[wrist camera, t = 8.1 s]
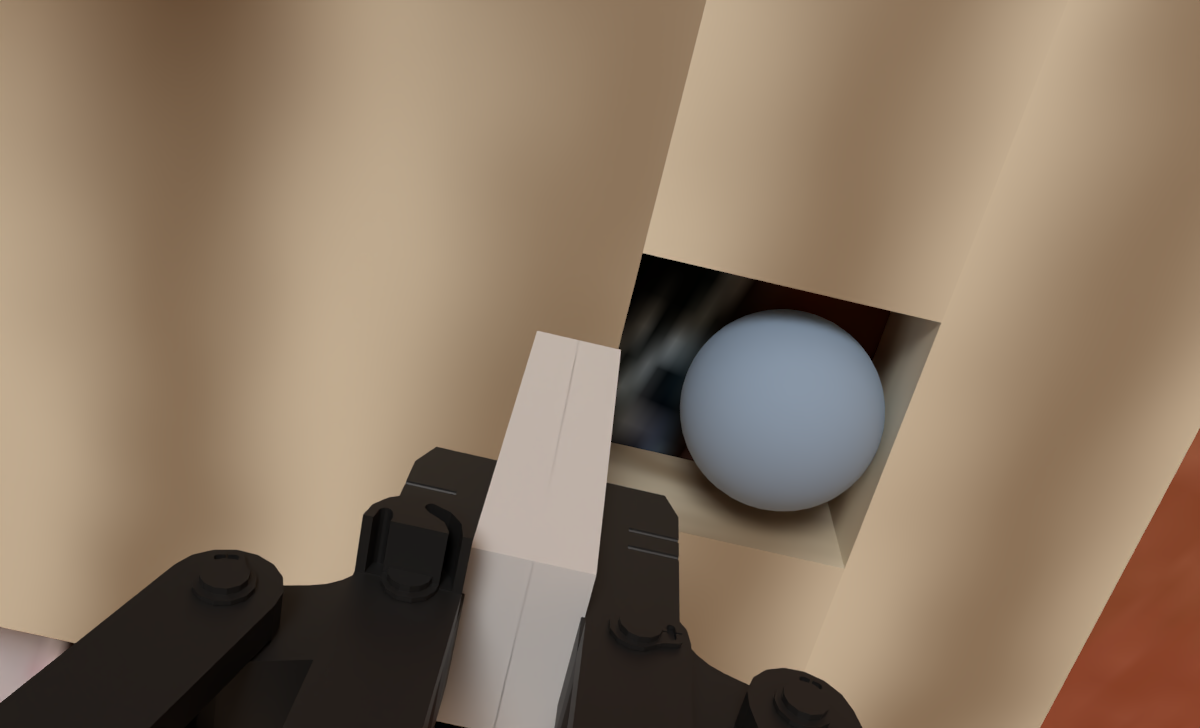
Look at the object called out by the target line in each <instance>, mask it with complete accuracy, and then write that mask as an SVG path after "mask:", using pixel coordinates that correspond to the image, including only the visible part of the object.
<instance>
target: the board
mask: <svg viewBox="0 0 1200 728" xmlns="http://www.w3.org/2000/svg"><path fill="white" fill-rule="evenodd" d="M642 253H645V254H649V255H653V256H657V257H662V258H666V259H670V260H675V261H679V262H683V263H687V264H692V265H696V266H700V267H705V268H709V269H713V270H717V271H722V272H726V273H730V274H735V275H739V276H743V277H747V278H752V279H756V280H760V281H765V282H769V283H773V284H777V285H782V286H786V287H790V288H795V289H799V290H803V291H807V292H812V293H816V294H820V295H825V296H829V297H833V298H837V299H842V300H846V301H850V302H855V303H859V304H863V305H867V306H872V307H876V308H880V309H885V310H889V311H891V312H890V315H889V318H888V320H887V323H886V326H885V328H884V331H883V334H882V337H881V339H880V342H879V345H878V347H877V350H876V353H875V356H874V358H873V361H872V363H873V365H874V367H875V368H876V370H877V372H878V375H879V378H880V381H881V384H882V388H883V393H884V400H885V423H884V429H883V434H882V437H881V441H880V444H879V447H878V450H877V452H876V454H875V456H874V458H873V460H872V461H871V463H870V465H869V466H868V468H867V469H866V471H865V472H864V473H863V474H862V476H861V477H860V478H859V479H858V480H857V481H856V482H855V483H854V484H853V485H852V486H851V487H850V488H848V489H847V490H846V491H844V492H843V493H841V494H840V495H838V496H837V497H835V498H833V499H832V500H830V501H828V502H826V503H823V504H820V505H818V506H815V507H812V508H808V509H802V510H797V511H771V510H764V509H758V508H755V507H752V506H749V505H746V504H744V503H741V502H739V501H737V500H735V499H733V498H731V497H730V496H728V495H727V494H725V493H724V492H723V491H721V490H720V489H718V488H717V487H716V486H715V485H714V484H713V483H711V482H710V481H709V480H708V479H707V477H706V476H705V475H704V474H703V473H702V471H701V470H700V469H699V468H698V466H697V465H696V463H695V461H691V460H687V459H683V458H678V457H674V456H669V455H665V454H660V453H656V452H652V451H647V450H643V449H638V448H634V447H630V446H625V445H621V444H616V443H612V442H611V446H610V455H609V464H608V473H607V482H606V483H611V484H615V485H620V486H624V487H629V488H633V489H638V490H642V491H646V492H651V493H655V494H660V495H664V496H665V497H666V498H667V500H668V501H669V503H670V505H671V506H672V508H673V509H674V511H675V513H676V514H677V516H678V517H679V540H678V543H679V558H678V560H679V605H680V622H681V624H682V625H683V626H684V627H685V628H686V630H687V632H688V635H689V639H690V642H691V649H692V650H693V651H694V652H695V653H696V654H697V655H698V656H699V657H700V658H701V659H703V660H704V661H705V662H706V663H708V664H709V665H710V666H712V667H714V668H716V669H717V670H719V671H721V672H723V673H724V674H727V675H729V676H731V677H733V678H735V679H737V680H739V681H742V682H744V683H746V684H748V685H750V683H751V681H752V679H753V677H754V676H756V675H758V674H760V673H761V672H763V671H765V670H767V669H776V668H788V669H793V670H799V671H804V672H806V673H808V674H811V675H813V676H815V677H817V678H819V679H821V680H824V681H825V682H827V683H828V684H829V685H830V686H832V687H833V688H834V689H836V690H837V691H838V692H839V693H841V694H842V695H843V697H844V698H845V699H846V701H847V702H848V703H849V705H850V706H851V707H852V709H853V710H854V712H855V714H856V716H857V718H858V720H859V722H860V724H861V726H862V728H1040V727H1041V725H1042V723H1043V721H1044V719H1045V717H1046V715H1047V713H1048V712H1049V710H1050V708H1051V706H1052V704H1053V702H1054V700H1055V698H1056V697H1057V695H1058V693H1059V691H1060V689H1061V687H1062V685H1063V683H1064V682H1065V680H1066V678H1067V676H1068V674H1069V672H1070V670H1071V668H1072V667H1073V665H1074V663H1075V661H1076V659H1077V657H1078V655H1079V653H1080V652H1081V650H1082V648H1083V646H1084V644H1085V642H1086V640H1087V638H1088V637H1089V635H1090V633H1091V631H1092V629H1093V627H1094V625H1095V623H1096V622H1097V620H1098V618H1099V616H1100V614H1101V612H1102V610H1103V608H1104V606H1105V605H1106V603H1107V601H1108V599H1109V597H1110V595H1111V593H1112V591H1113V590H1114V588H1115V586H1116V584H1117V582H1118V580H1119V578H1120V576H1121V575H1122V573H1123V571H1124V569H1125V567H1126V565H1127V563H1128V561H1129V560H1130V558H1131V556H1132V554H1133V552H1134V550H1135V548H1136V546H1137V545H1138V543H1139V541H1140V539H1141V537H1142V535H1143V533H1144V531H1145V530H1146V528H1147V526H1148V524H1149V522H1150V520H1151V518H1152V516H1153V515H1154V513H1155V511H1156V509H1157V507H1158V505H1159V503H1160V501H1161V500H1162V498H1163V496H1164V494H1165V492H1166V490H1167V488H1168V486H1169V485H1170V483H1171V481H1172V479H1173V477H1174V475H1175V473H1176V471H1177V470H1178V468H1179V466H1180V464H1181V462H1182V460H1183V458H1184V456H1185V455H1186V453H1187V451H1188V449H1189V447H1190V445H1191V443H1192V441H1193V439H1194V438H1195V436H1196V434H1197V432H1198V430H1199V428H1200V0H0V627H3V628H7V629H12V630H17V631H21V632H26V633H31V634H35V635H40V636H45V637H49V638H54V639H58V640H63V641H68V642H72V643H76V642H77V641H79V640H80V639H81V638H83V637H84V636H85V635H86V634H88V633H89V632H90V631H91V630H93V629H94V628H95V627H96V626H98V625H99V624H100V623H101V622H103V621H104V620H105V619H106V618H108V617H109V616H110V615H111V614H113V613H114V612H115V611H116V610H118V609H119V608H120V607H121V606H123V605H124V604H125V603H126V602H128V601H129V600H130V599H131V598H133V597H134V596H135V595H137V594H138V593H139V592H140V591H142V590H143V589H144V588H145V587H147V586H148V585H149V584H150V583H152V582H153V581H154V580H155V579H157V578H158V577H159V576H160V575H162V574H163V573H164V572H165V571H167V570H168V569H169V568H170V567H172V566H173V565H174V564H176V563H178V562H180V561H181V560H183V559H185V558H187V557H189V556H191V555H193V554H197V553H201V552H206V551H210V550H240V551H244V552H248V553H252V554H256V555H259V556H261V557H262V558H264V559H266V560H267V561H269V562H271V563H272V564H274V565H275V567H276V568H277V569H278V571H279V572H280V574H281V575H282V576H283V585H318V584H328V583H332V582H336V581H340V580H343V579H345V578H348V577H350V576H352V575H353V573H354V571H355V565H356V558H357V551H358V544H359V538H360V531H361V524H362V518H363V514H364V513H365V512H366V511H367V510H368V509H369V508H370V506H371V505H372V504H374V503H376V502H379V501H381V500H383V499H386V498H388V497H395V496H400V493H401V491H402V489H403V487H404V485H405V484H406V480H407V478H408V476H409V473H410V471H411V469H412V467H413V465H414V462H415V461H416V460H417V459H419V458H420V457H422V456H423V455H425V454H426V453H428V452H429V451H431V450H432V449H434V448H435V447H440V448H445V449H449V450H454V451H458V452H462V453H467V454H471V455H476V456H480V457H485V458H489V459H493V460H498V457H499V454H500V451H501V447H502V444H503V441H504V437H505V434H506V431H507V428H508V424H509V421H510V418H511V415H512V411H513V408H514V405H515V401H516V398H517V395H518V392H519V388H520V385H521V382H522V378H523V375H524V372H525V369H526V365H527V362H528V359H529V356H530V352H531V349H532V346H533V342H534V339H535V336H536V333H537V331H541V332H545V333H550V334H554V335H558V336H563V337H567V338H571V339H576V340H580V341H584V342H589V343H593V344H597V345H602V346H606V347H611V348H615V349H618V348H619V344H620V340H621V336H622V332H623V328H624V324H625V320H626V317H627V313H628V309H629V305H630V301H631V297H632V293H633V289H634V285H635V281H636V277H637V273H638V269H639V265H640V261H641V257H642ZM438 722H440V721H438ZM443 723H444V722H443ZM448 724H449V723H448ZM452 725H453V724H452ZM457 726H458V725H457ZM462 727H463V726H462ZM466 728H467V727H466Z"/></svg>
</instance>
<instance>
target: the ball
mask: <svg viewBox="0 0 1200 728" xmlns="http://www.w3.org/2000/svg"><path fill="white" fill-rule="evenodd" d="M680 419H681V426H682V432H683V435H684V438H685V442H686V445H687V448H688V450H689V452H690V454H691V456H692V458H693V459H694V461H695V463H696V465H697V466H698V468H699V469H700V470H701V471H702V473H703V474H704V475H705V476H706V477H707V479H708V480H709V481H710V482H711V483H713V484H714V485H715V486H716V487H717V488H718V489H720V490H721V491H723V492H724V493H725V494H727V495H728V496H730V497H731V498H733V499H735V500H737V501H739V502H741V503H744V504H746V505H749V506H752V507H755V508H758V509H764V510H771V511H797V510H802V509H808V508H812V507H815V506H818V505H820V504H823V503H826V502H828V501H830V500H832V499H833V498H835V497H837V496H838V495H840V494H841V493H843V492H844V491H846V490H847V489H848V488H850V487H851V486H852V485H853V484H854V483H855V482H856V481H857V480H858V479H859V478H860V477H861V476H862V474H863V473H864V472H865V471H866V469H867V468H868V466H869V465H870V463H871V461H872V460H873V458H874V456H875V454H876V452H877V450H878V447H879V444H880V441H881V437H882V434H883V429H884V423H885V400H884V393H883V388H882V384H881V381H880V378H879V375H878V372H877V370H876V368H875V367H874V365H873V363H872V361H871V359H870V357H869V356H868V354H867V353H866V352H865V350H864V349H863V348H862V346H861V345H860V344H859V343H858V342H857V341H856V340H855V339H854V338H853V337H852V336H851V335H850V334H849V333H847V332H846V331H845V330H843V329H842V328H841V327H839V326H838V325H836V324H835V323H833V322H831V321H829V320H827V319H825V318H822V317H820V316H818V315H815V314H811V313H808V312H804V311H798V310H791V309H774V310H765V311H760V312H756V313H752V314H749V315H746V316H744V317H741V318H739V319H737V320H735V321H733V322H731V323H729V324H727V325H726V326H724V327H723V328H722V329H720V330H719V331H718V332H717V333H715V334H714V335H713V336H712V337H711V338H710V339H709V340H708V341H707V342H706V343H705V344H704V345H703V346H702V348H701V349H700V350H699V352H698V353H697V355H696V356H695V358H694V359H693V361H692V363H691V365H690V367H689V369H688V372H687V374H686V377H685V380H684V383H683V387H682V392H681V401H680Z"/></svg>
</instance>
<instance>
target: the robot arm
mask: <svg viewBox="0 0 1200 728" xmlns="http://www.w3.org/2000/svg"><path fill="white" fill-rule="evenodd" d="M620 355H621V350H619V349H615V348H611V347H606V346H602V345H597V344H593V343H589V342H584V341H580V340H576V339H571V338H567V337H563V336H558V335H554V334H550V333H545V332H541V331H537V333H536V336H535V339H534V342H533V346H532V349H531V352H530V356H529V359H528V362H527V365H526V369H525V372H524V375H523V378H522V382H521V385H520V388H519V392H518V395H517V398H516V401H515V405H514V408H513V411H512V415H511V418H510V421H509V424H508V428H507V431H506V434H505V437H504V441H503V444H502V447H501V451H500V454H499V457H498V460H493V459H489V458H485V457H480V456H476V455H471V454H467V453H462V452H458V451H454V450H449V449H445V448H440V447H435V448H434V449H432V450H431V451H429V452H428V453H426V454H425V455H423V456H422V457H420V458H419V459H417V460H416V461H415V462H414V465H413V467H412V469H411V471H410V473H409V476H408V478H407V480H406V484H405V485H404V487H403V489H402V491H401V493H400V496H395V497H388V498H386V499H383V500H381V501H379V502H376V503H374V504H372V505H371V506H370V508H369V509H368V510H367V511H366V512H365V513H364V514H363V518H362V524H361V531H360V538H359V544H358V551H357V558H356V565H355V571H354V573H353V575H352V576H350V577H348V578H345V579H343V580H340V581H336V582H332V583H328V584H318V585H283V576H282V575H281V574H280V572H279V571H278V569H277V568H276V567H275V565H274V564H272V563H271V562H269V561H267V560H266V559H264V558H262V557H261V556H259V555H256V554H252V553H248V552H244V551H240V550H210V551H206V552H201V553H197V554H193V555H191V556H189V557H187V558H185V559H183V560H181V561H180V562H178V563H176V564H174V565H173V566H172V567H170V568H169V569H168V570H167V571H165V572H164V573H163V574H162V575H160V576H159V577H158V578H157V579H155V580H154V581H153V582H152V583H150V584H149V585H148V586H147V587H145V588H144V589H143V590H142V591H140V592H139V593H138V594H137V595H135V596H134V597H133V598H131V599H130V600H129V601H128V602H126V603H125V604H124V605H123V606H121V607H120V608H119V609H118V610H116V611H115V612H114V613H113V614H111V615H110V616H109V617H108V618H106V619H105V620H104V621H103V622H101V623H100V624H99V625H98V626H96V627H95V628H94V629H93V630H91V631H90V632H89V633H88V634H86V635H85V636H84V637H83V638H81V639H80V640H79V641H77V642H76V643H75V644H74V645H72V646H71V647H70V648H69V649H67V650H66V651H65V652H64V653H62V654H61V655H60V656H59V657H57V658H56V659H55V660H54V661H52V662H51V663H50V664H49V665H47V666H46V667H45V668H44V669H42V670H41V671H40V672H39V673H37V674H36V675H35V676H34V677H32V678H31V679H30V680H28V681H27V682H26V683H25V684H23V685H22V686H21V687H20V688H18V689H17V690H16V691H15V692H13V693H12V694H11V695H10V696H8V697H7V698H6V699H5V700H3V701H2V702H1V703H0V728H435V723H436V721H440V722H444V723H449V724H453V725H458V726H463V727H467V728H862V726H861V724H860V722H859V720H858V718H857V716H856V714H855V712H854V710H853V709H852V707H851V706H850V705H849V703H848V702H847V701H846V699H845V698H844V697H843V695H842V694H841V693H839V692H838V691H837V690H836V689H834V688H833V687H832V686H830V685H829V684H828V683H827V682H825V681H824V680H821V679H819V678H817V677H815V676H813V675H811V674H808V673H806V672H804V671H799V670H793V669H788V668H776V669H767V670H765V671H763V672H761V673H760V674H758V675H756V676H754V677H753V679H752V681H751V683H750V685H748V684H746V683H744V682H742V681H739V680H737V679H735V678H733V677H731V676H729V675H727V674H724V673H723V672H721V671H719V670H717V669H716V668H714V667H712V666H710V665H709V664H708V663H706V662H705V661H704V660H703V659H701V658H700V657H699V656H698V655H697V654H696V653H695V652H694V651H693V650H692V649H691V642H690V639H689V635H688V632H687V630H686V628H685V627H684V626H683V625H682V624H681V622H680V605H679V560H678V558H679V543H678V540H679V517H678V516H677V514H676V513H675V511H674V509H673V508H672V506H671V505H670V503H669V501H668V500H667V498H666V497H665V496H664V495H660V494H655V493H651V492H646V491H642V490H638V489H633V488H629V487H624V486H620V485H615V484H611V483H606V482H607V473H608V464H609V455H610V446H611V437H612V428H613V419H614V409H615V400H616V391H617V382H618V373H619V364H620Z"/></svg>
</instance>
